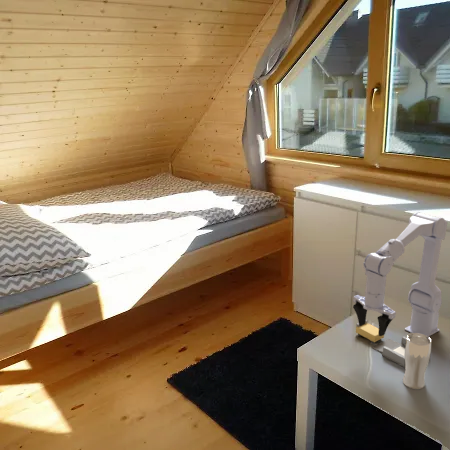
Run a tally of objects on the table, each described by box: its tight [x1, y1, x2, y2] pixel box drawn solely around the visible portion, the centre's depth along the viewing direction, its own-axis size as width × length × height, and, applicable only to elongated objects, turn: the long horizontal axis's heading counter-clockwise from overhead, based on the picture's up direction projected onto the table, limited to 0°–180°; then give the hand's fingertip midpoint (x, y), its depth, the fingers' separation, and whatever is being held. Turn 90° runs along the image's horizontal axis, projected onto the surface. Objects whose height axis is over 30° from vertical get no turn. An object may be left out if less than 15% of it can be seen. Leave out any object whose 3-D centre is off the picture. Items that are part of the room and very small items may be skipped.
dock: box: [371, 335, 407, 369], centre depth 153 cm, size 14×11×4 cm
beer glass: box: [402, 332, 432, 390], centre depth 136 cm, size 7×7×15 cm
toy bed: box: [355, 319, 385, 344], centre depth 162 cm, size 8×5×4 cm, turn 35°
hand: (371, 329), depth 148 cm, fingers open, 7 cm apart
